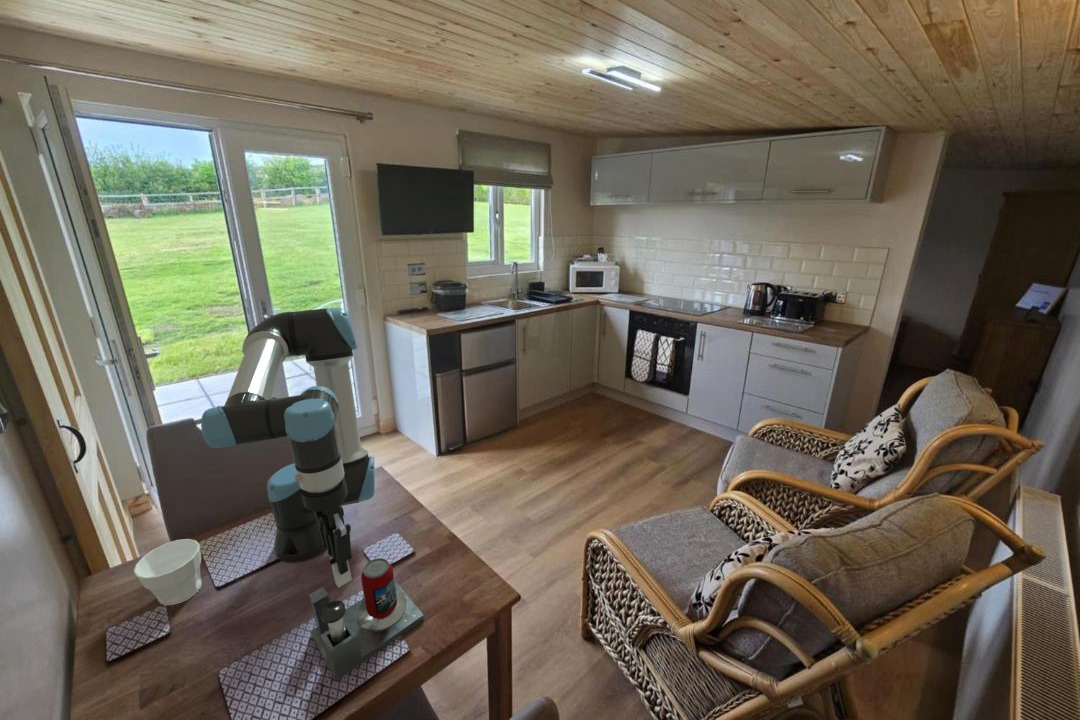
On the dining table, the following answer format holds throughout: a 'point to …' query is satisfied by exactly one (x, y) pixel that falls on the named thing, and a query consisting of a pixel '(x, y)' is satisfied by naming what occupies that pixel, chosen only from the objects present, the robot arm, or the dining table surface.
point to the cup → (171, 571)
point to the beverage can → (379, 588)
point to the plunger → (335, 620)
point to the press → (361, 631)
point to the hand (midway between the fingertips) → (343, 581)
